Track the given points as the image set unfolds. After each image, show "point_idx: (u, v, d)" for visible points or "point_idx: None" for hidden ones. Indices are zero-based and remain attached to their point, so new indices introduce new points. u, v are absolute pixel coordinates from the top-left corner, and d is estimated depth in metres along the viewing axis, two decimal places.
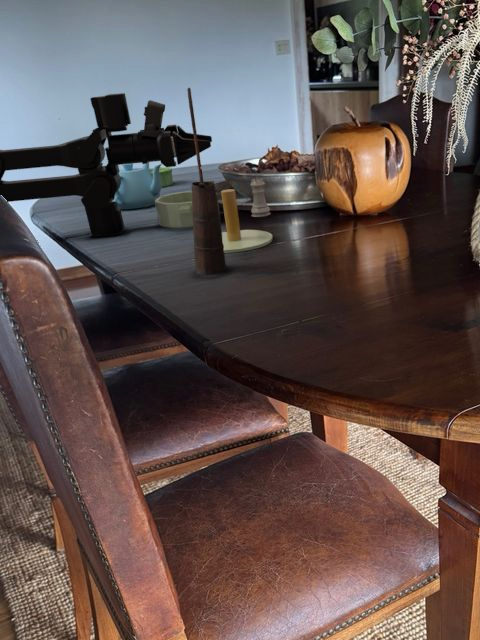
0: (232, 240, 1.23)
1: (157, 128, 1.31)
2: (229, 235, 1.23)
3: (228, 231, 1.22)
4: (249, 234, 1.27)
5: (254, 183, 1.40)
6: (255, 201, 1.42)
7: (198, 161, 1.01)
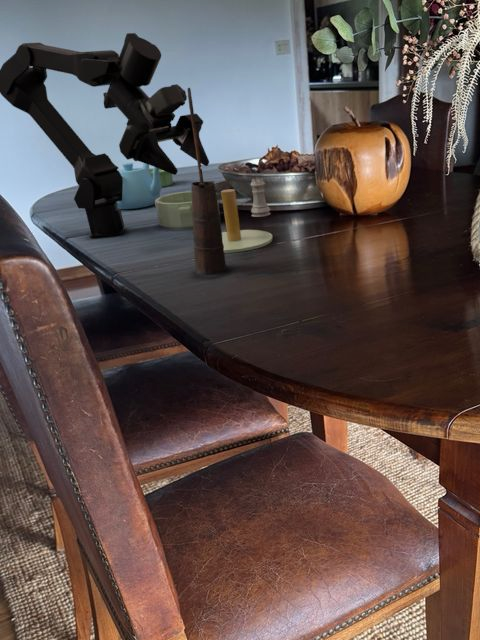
0: (232, 240, 1.23)
1: (154, 114, 1.18)
2: (229, 235, 1.23)
3: (228, 231, 1.22)
4: (249, 234, 1.27)
5: (254, 183, 1.40)
6: (255, 201, 1.42)
7: (198, 161, 1.01)
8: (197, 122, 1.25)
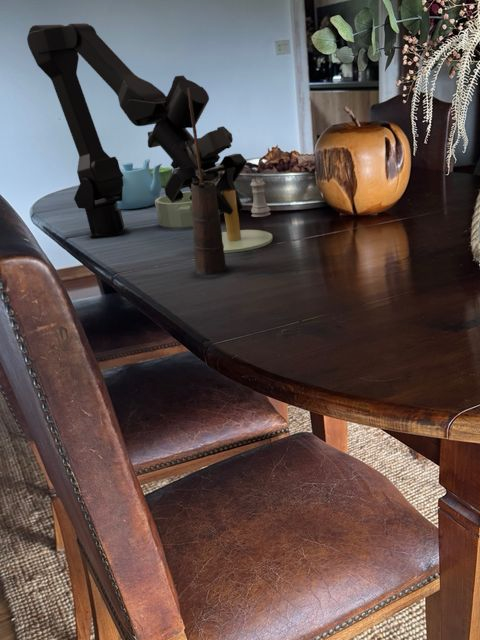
0: (232, 240, 1.23)
1: (200, 157, 1.17)
2: (229, 235, 1.23)
3: (228, 231, 1.22)
4: (249, 234, 1.27)
5: (254, 183, 1.40)
6: (255, 201, 1.42)
7: (198, 161, 1.01)
8: (241, 163, 1.24)
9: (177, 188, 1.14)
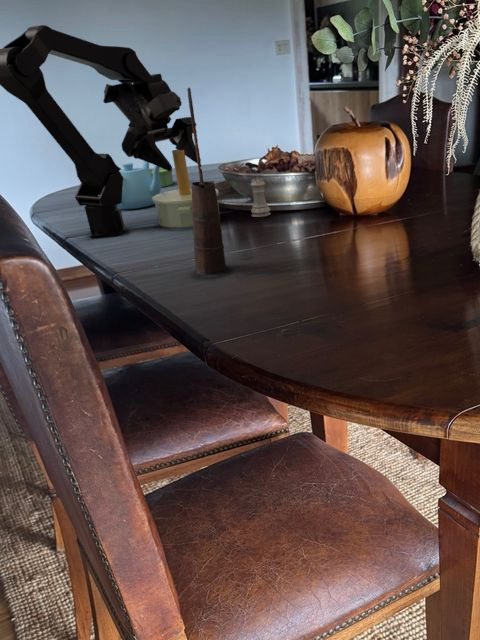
0: (183, 194, 1.41)
1: (153, 117, 1.35)
2: (180, 190, 1.41)
3: (179, 186, 1.41)
4: None
5: (254, 183, 1.40)
6: (255, 201, 1.42)
7: (198, 161, 1.01)
8: (191, 124, 1.42)
9: (132, 143, 1.32)
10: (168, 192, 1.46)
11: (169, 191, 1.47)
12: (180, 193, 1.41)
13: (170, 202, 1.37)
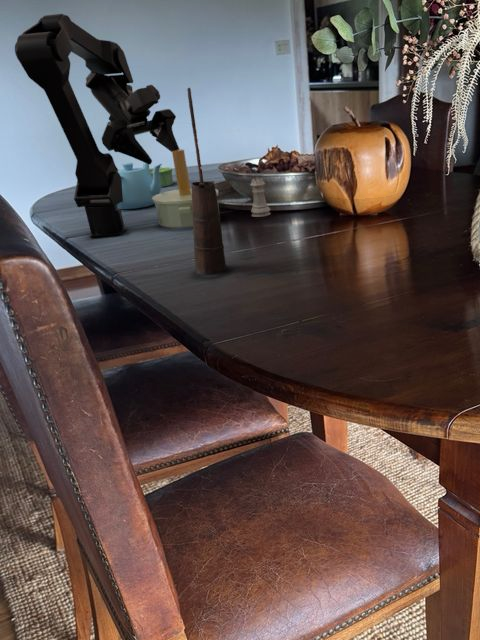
0: (183, 194, 1.41)
1: (132, 111, 1.37)
2: (180, 190, 1.41)
3: (179, 186, 1.41)
4: None
5: (254, 183, 1.40)
6: (255, 201, 1.42)
7: (198, 161, 1.01)
8: (170, 117, 1.44)
9: (111, 138, 1.34)
10: (168, 192, 1.46)
11: (169, 191, 1.47)
12: (180, 193, 1.41)
13: (170, 202, 1.37)
